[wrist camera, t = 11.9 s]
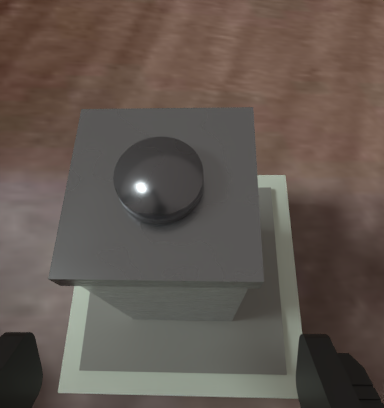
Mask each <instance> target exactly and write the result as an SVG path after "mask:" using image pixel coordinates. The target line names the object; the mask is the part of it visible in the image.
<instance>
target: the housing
mask: <svg viewBox="0 0 384 408" xmlns="http://www.w3.org/2000/svg"><path fill="white" fill-rule="evenodd" d="M48 279H49V280H51V281H53V282H54V283H56V284H58V285H60V286H81V287H83V288H85V289H86V290H88V291H89V292H91V293H92V294H94V295H96V296H97V297H99V298H100V299H102V300H104V301H105V302H107V303H108V304H110V305H111V306H113V307H115V308H116V309H118V310H119V311H121V312H123V313H124V314H126V315H127V316H129V317H130V318H132V319H134V320H184V321H232V320H233V318H234V316H235V314H236V312H237V310H238V308H239V306H240V304H241V302H242V300H243V298H244V296H245V294H246V292H247V290H248V288H250V289H260V287H261V286H262V284H263V283H264V274H263V258H262V242H261V226H260V210H259V194H258V178H257V162H256V146H255V130H254V114H253V107H245V108H150V109H81V114H80V119H79V124H78V129H77V135H76V140H75V145H74V150H73V155H72V160H71V165H70V170H69V175H68V181H67V186H66V191H65V196H64V201H63V206H62V211H61V216H60V221H59V227H58V232H57V237H56V242H55V247H54V252H53V257H52V262H51V268H50V273H49V278H48Z"/></svg>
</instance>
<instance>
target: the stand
mask: <svg viewBox="0 0 384 408" xmlns="http://www.w3.org/2000/svg"><path fill="white" fill-rule="evenodd" d="M257 178H258V194H259V210H260V226H261V242H262V258H263V274H264V283H263V284H262V286H261V287H260V289H250V288H248V290H247V292H246V294H245V296H244V298H243V300H242V302H241V304H240V306H239V308H238V310H237V312H236V314H235V316H234V318H233V320H232V321H184V320H134V319H132V318H130V317H129V316H127V315H126V314H124V313H123V312H121V311H119V310H118V309H116V308H115V307H113V306H111V305H110V304H108V303H107V302H105V301H104V300H102V299H100V298H99V297H97V296H96V295H94V294H92V293H91V292H89V291H88V290H86V289H85V288H83V287H81V286H74V293H73V299H72V305H71V312H70V318H69V324H68V331H67V337H66V343H65V350H64V356H63V362H62V369H61V375H60V381H59V388H58V393H81V394H122V395H164V396H206V397H247V398H289V399H298V394H297V389H296V365H297V355H298V344H299V337H300V335H301V334H302V326H301V317H300V308H299V298H298V289H297V280H296V270H295V261H294V252H293V242H292V233H291V224H290V214H289V205H288V196H287V186H286V177H285V175H257Z"/></svg>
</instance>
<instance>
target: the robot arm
mask: <svg viewBox="0 0 384 408" xmlns="http://www.w3.org/2000/svg"><path fill="white" fill-rule="evenodd" d="M42 378H43V373H42V367H41V362H40V358H39V353H38V349H37V344H36V340H35V336H34V335H33V333H30V332H7V333H4V334H3V335H2V336H1V337H0V408H31V407H32V405H33V403H34V402H35V400H36V398H37V396H38V394H39V391H40V388H41V385H42ZM296 389H297V394H298V399H299V402H300V406H301V408H384V404H383V403H381V399H380V397H379V395H378V393H377V392H376V390H375V388H373V384H372V382H371V380H370V379H369V377H368V375H367V373H366V371H365V369H364V368H363V367H362V366H361V365H360V364H359V363H358V362H357V361H356V360H355V359H354V358H353V357H352V356H351V355H350V354H349V353H337V352H336V350H335V348H334V346H333V344H332V342H331V340H330V338H329V336H328V335H327V334H301V335H300V337H299V344H298V355H297V365H296Z"/></svg>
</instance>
